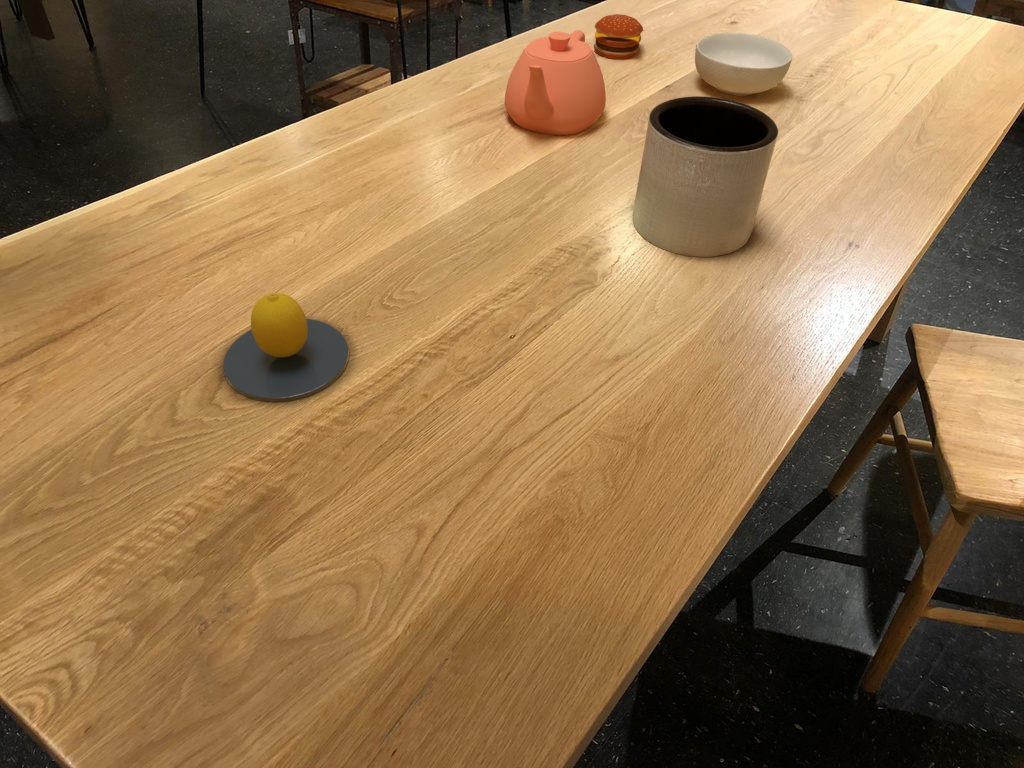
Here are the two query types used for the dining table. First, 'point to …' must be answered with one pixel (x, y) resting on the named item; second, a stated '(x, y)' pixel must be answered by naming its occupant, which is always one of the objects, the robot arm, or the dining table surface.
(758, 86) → the cereal bowl
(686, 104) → the planter
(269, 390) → the plate
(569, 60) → the teapot
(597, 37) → the hamburger
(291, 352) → the lemon
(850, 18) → the dining table surface
